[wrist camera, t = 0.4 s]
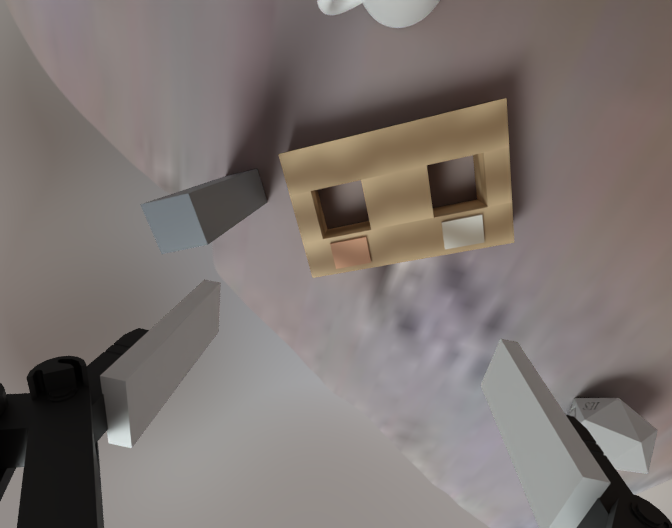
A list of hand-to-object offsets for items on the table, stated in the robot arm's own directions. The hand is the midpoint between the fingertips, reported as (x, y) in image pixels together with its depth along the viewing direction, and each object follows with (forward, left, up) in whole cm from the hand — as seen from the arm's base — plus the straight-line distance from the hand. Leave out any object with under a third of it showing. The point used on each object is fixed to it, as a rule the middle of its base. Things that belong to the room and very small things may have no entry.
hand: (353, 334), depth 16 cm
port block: (-1, +4, -26) cm, 26 cm away
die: (+34, +25, -26) cm, 49 cm away
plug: (-5, -13, -26) cm, 30 cm away
